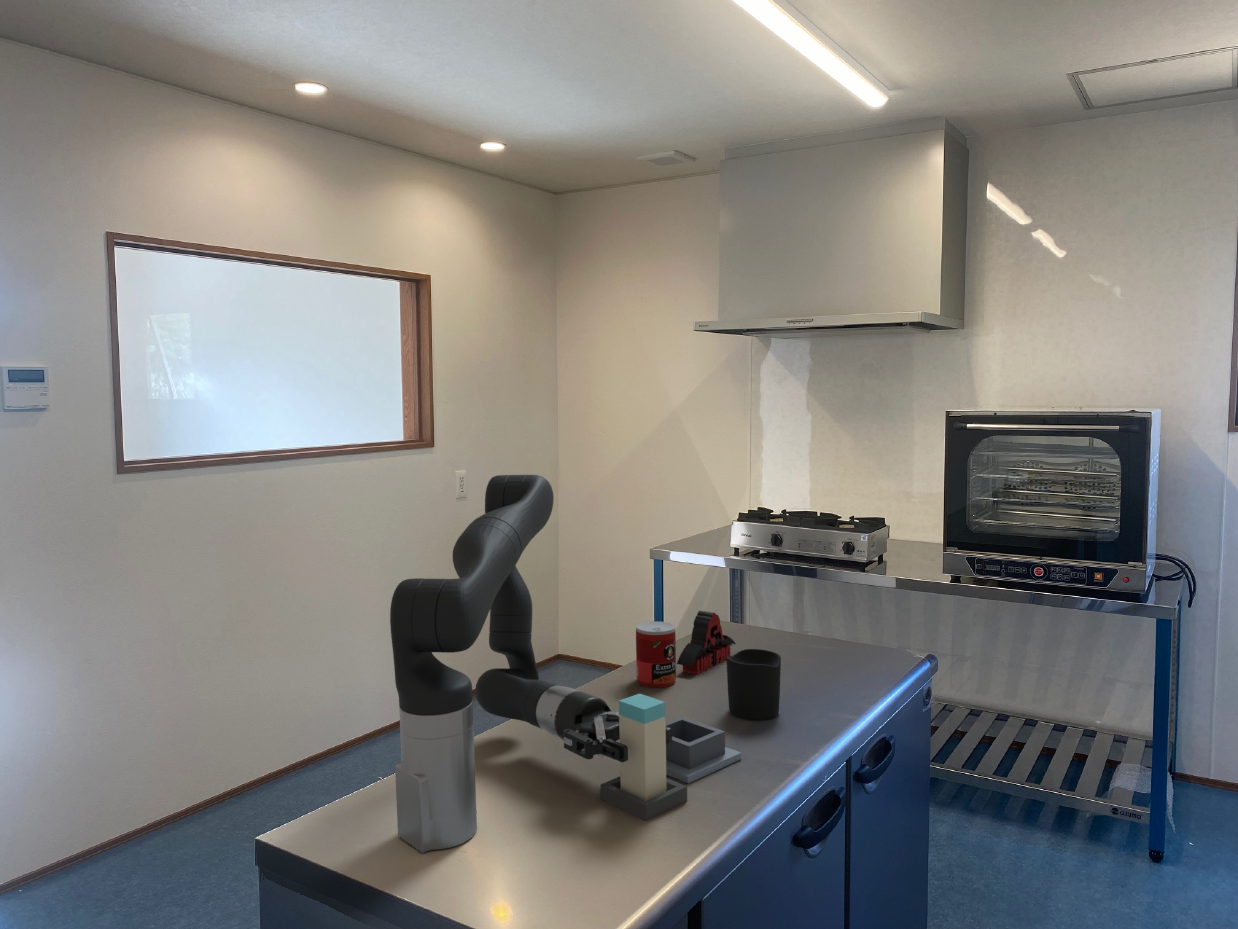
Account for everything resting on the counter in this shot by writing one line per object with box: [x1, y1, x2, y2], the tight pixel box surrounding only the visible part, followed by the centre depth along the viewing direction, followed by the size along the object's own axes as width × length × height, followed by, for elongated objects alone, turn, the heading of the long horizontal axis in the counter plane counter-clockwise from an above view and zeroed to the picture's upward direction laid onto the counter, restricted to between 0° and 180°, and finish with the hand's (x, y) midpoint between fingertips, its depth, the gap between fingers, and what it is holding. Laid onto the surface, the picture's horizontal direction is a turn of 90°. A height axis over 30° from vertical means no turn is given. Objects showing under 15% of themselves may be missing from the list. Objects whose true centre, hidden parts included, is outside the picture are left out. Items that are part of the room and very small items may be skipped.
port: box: [665, 716, 742, 784], centre depth 136 cm, size 12×12×4 cm
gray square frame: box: [599, 776, 688, 821], centre depth 122 cm, size 8×9×2 cm
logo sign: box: [676, 610, 736, 675], centre depth 182 cm, size 18×4×11 cm, turn 144°
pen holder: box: [725, 648, 782, 722], centre depth 155 cm, size 9×9×10 cm
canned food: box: [635, 621, 677, 689], centre depth 172 cm, size 8×8×11 cm
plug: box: [618, 693, 667, 801], centre depth 122 cm, size 4×5×14 cm
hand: (648, 745), depth 121 cm, fingers open, 8 cm apart
